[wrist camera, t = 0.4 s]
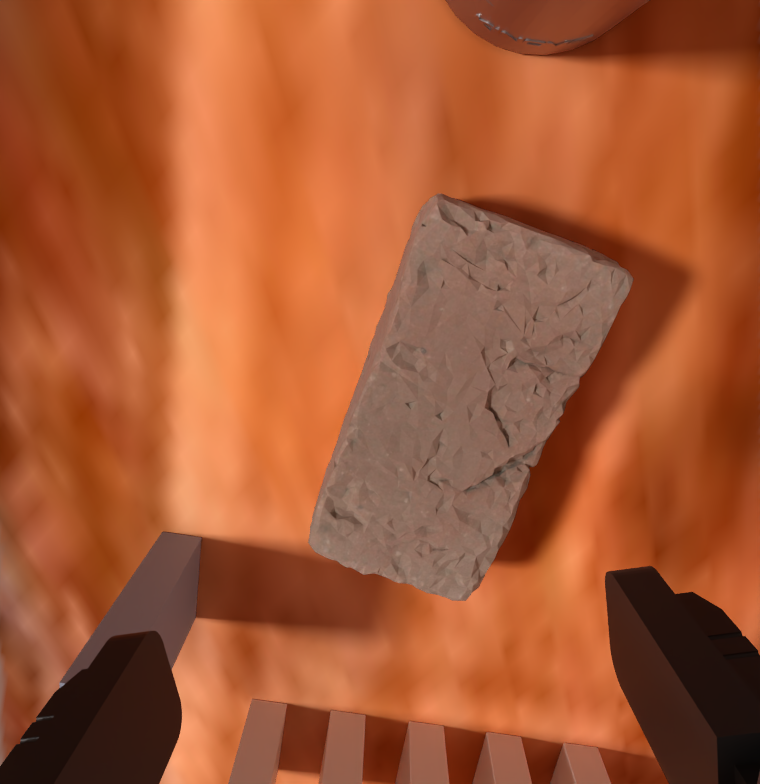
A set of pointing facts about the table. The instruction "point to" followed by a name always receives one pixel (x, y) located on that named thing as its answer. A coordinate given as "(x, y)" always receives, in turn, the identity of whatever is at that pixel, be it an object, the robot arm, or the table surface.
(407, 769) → the tile
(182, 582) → the tile
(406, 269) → the brick
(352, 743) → the tile
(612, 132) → the table surface
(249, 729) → the tile
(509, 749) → the tile
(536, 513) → the table surface
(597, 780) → the tile
